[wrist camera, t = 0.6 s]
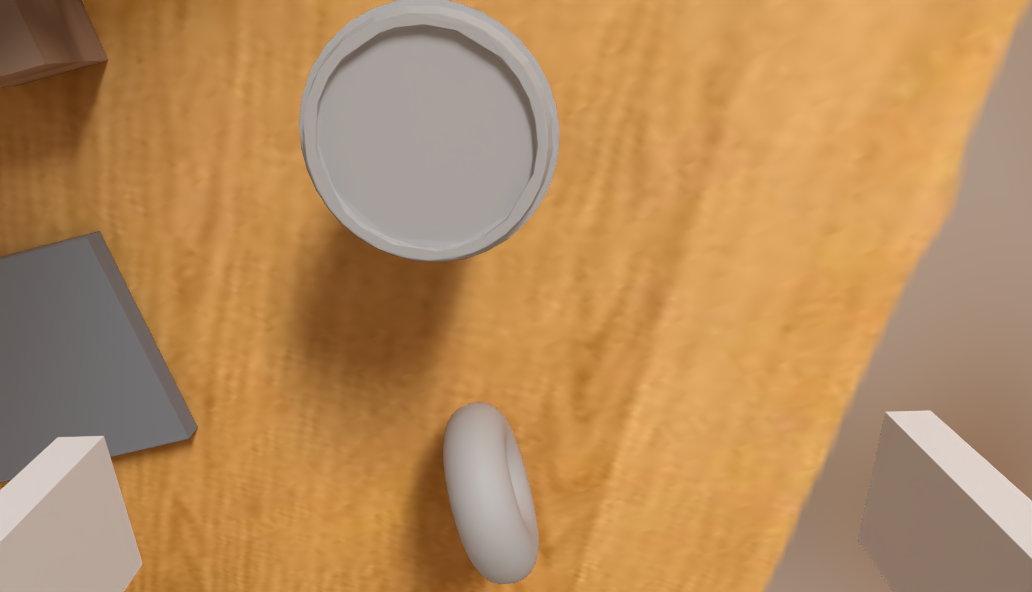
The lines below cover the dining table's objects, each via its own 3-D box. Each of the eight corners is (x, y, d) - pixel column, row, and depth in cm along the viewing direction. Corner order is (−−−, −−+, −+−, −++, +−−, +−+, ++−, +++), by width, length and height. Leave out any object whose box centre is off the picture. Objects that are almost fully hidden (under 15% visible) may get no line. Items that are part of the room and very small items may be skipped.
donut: (541, 494, 43) (552, 619, 34) (491, 507, 44) (488, 634, 34) (496, 364, 40) (494, 464, 31) (441, 379, 40) (423, 482, 31)
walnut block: (-36, -20, 32) (-127, -30, 27) (60, -48, 32) (-16, -63, 27) (17, 85, 34) (-60, 93, 29) (109, 60, 33) (45, 63, 29)
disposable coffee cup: (365, -6, 32) (293, -28, 21) (557, 27, 33) (585, 22, 22) (352, 185, 36) (284, 253, 25) (527, 211, 36) (538, 289, 25)
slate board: (-115, 286, 37) (-133, 294, 36) (99, 231, 36) (86, 237, 35) (5, 472, 42) (-8, 484, 41) (197, 427, 41) (189, 438, 40)
